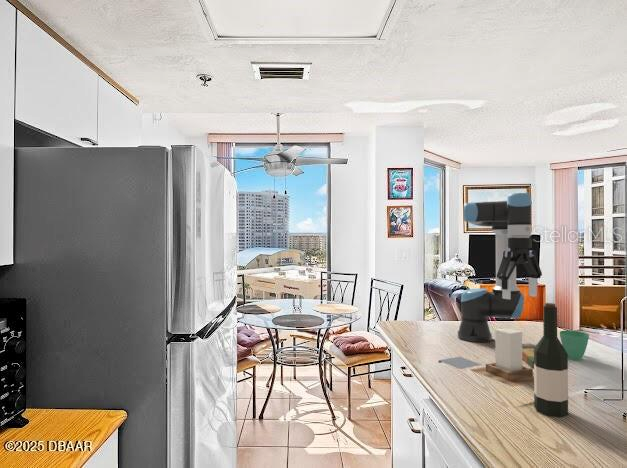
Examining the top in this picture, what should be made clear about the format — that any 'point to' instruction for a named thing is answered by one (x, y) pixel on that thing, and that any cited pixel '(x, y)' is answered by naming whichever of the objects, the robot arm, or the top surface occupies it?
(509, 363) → the cream block
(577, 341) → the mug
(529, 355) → the carton
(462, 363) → the slate mat
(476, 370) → the pocket tray
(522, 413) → the top surface
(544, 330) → the wine bottle
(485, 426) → the top surface
